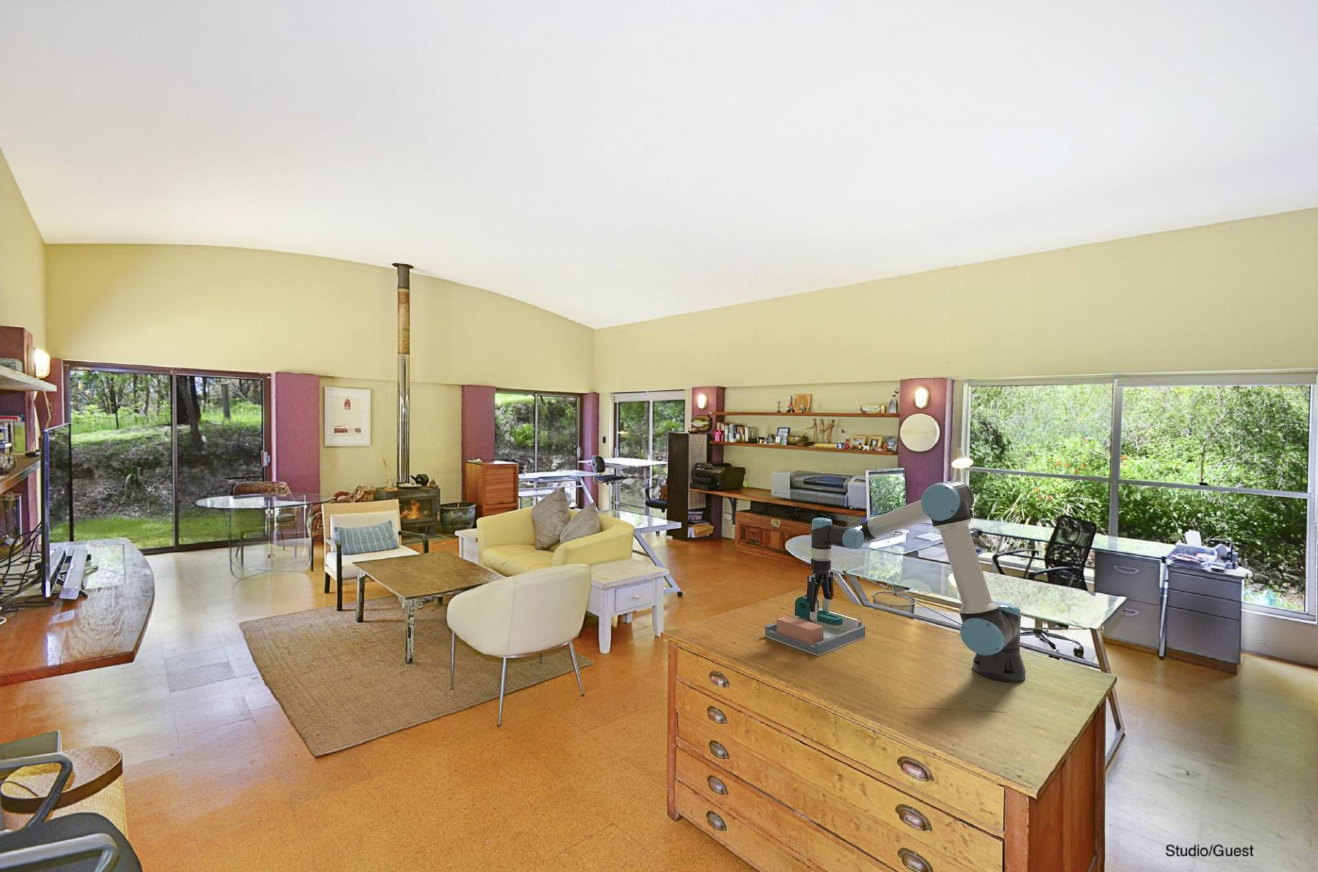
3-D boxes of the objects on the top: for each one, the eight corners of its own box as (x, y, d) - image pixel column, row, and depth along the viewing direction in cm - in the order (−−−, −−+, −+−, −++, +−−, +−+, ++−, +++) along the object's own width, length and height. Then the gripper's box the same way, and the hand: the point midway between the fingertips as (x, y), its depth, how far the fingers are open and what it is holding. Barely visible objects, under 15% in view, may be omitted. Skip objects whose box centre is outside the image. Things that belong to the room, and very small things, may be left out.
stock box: (788, 632, 227) (788, 614, 227) (823, 645, 215) (823, 626, 215) (776, 637, 223) (776, 618, 223) (811, 649, 211) (812, 630, 210)
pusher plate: (813, 620, 241) (813, 606, 241) (858, 635, 226) (858, 619, 225) (811, 621, 241) (811, 606, 240) (856, 635, 225) (856, 620, 225)
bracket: (794, 615, 231) (795, 595, 230) (803, 611, 235) (803, 591, 235) (837, 626, 218) (838, 605, 218) (845, 622, 223) (846, 601, 223)
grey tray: (812, 620, 244) (812, 607, 244) (865, 637, 226) (865, 622, 225) (765, 636, 225) (765, 622, 225) (818, 656, 206) (818, 640, 206)
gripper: (827, 553, 236) (826, 610, 236) (796, 560, 223) (795, 620, 223) (844, 556, 230) (843, 615, 230) (813, 564, 217) (812, 625, 218)
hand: (819, 617), depth 227 cm, fingers closed on bracket, 7 cm apart
